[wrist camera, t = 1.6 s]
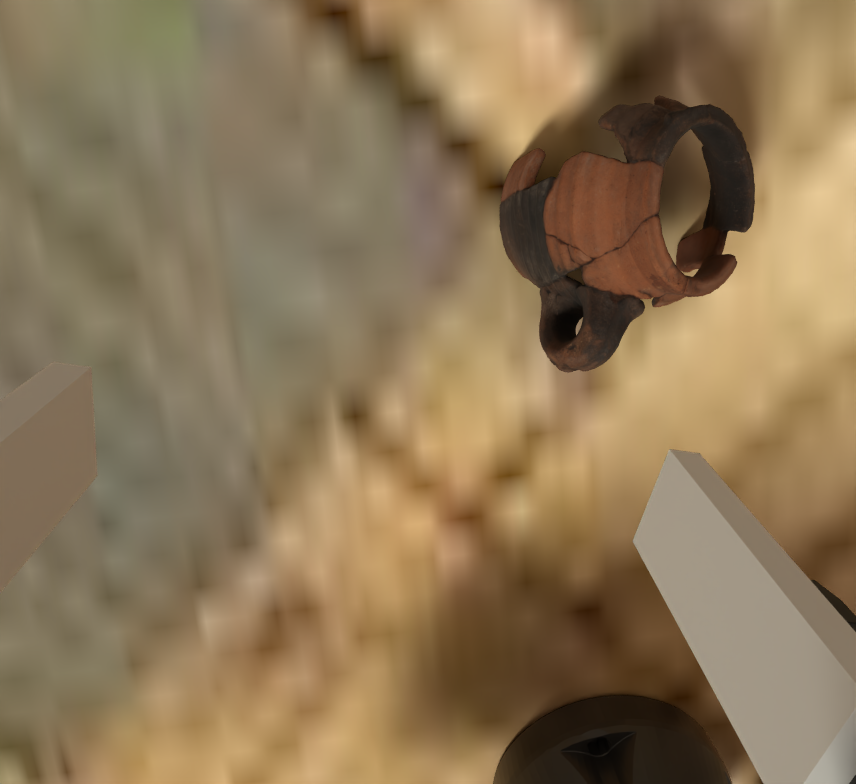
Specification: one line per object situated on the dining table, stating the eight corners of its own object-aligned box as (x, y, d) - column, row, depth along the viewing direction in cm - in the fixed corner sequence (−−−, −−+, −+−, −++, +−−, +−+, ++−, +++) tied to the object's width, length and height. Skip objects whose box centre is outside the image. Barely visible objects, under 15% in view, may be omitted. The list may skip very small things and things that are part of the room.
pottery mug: (512, 89, 28) (667, 30, 21) (638, 170, 33) (794, 144, 26) (447, 343, 28) (579, 365, 21) (581, 383, 33) (722, 411, 27)
